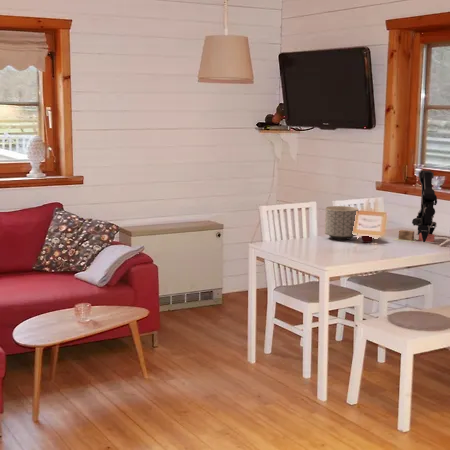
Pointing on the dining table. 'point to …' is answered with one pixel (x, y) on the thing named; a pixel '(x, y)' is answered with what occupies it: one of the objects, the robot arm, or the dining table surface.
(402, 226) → the dining table surface
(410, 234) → the brick walnut
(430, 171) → the robot arm
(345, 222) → the planter
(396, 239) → the plate
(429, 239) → the brick red
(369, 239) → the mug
